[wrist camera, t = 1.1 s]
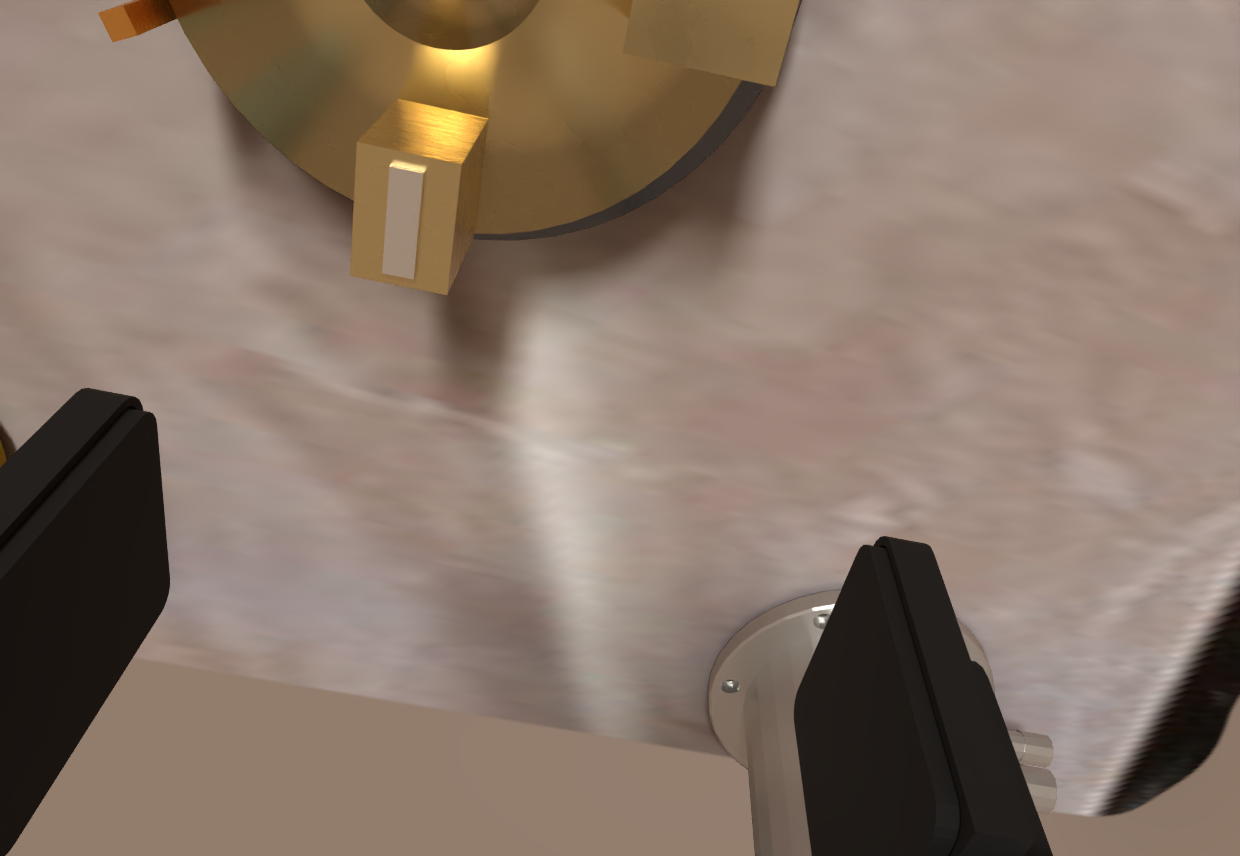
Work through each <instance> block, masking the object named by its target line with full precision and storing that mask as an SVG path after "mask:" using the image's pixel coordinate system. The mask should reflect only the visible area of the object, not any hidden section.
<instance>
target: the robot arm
mask: <svg viewBox="0 0 1240 856" xmlns="http://www.w3.org/2000/svg"><path fill="white" fill-rule="evenodd" d="M169 588H170V574H169V562H168V551H167V539H166V527H165V515H164V503H163V491H162V479H161V467H160V455H159V443H158V431H157V422H156V418H155V416H154V414H152V413H151V412H146V411H143V407H142V404H141V402H140V400H139V399H138V398H136V397H133V396H128V395H122V394H117V393H112V392H106V391H101V390H96V389H90V388H84V389H81V390H80V391H78V392H77V393H75V394H74V395H73V396H72V397H71V398H70V399H69V400H68V401H67V402H66V403H65V404H64V405H63V406H62V407H61V408H60V409H59V410H58V411H57V412H56V413H55V414H54V415H53V416H52V417H51V418H50V419H49V420H48V421H47V422H46V423H45V424H44V425H43V426H42V427H41V428H40V429H39V430H38V431H37V432H36V433H35V434H34V435H33V436H32V437H31V438H30V439H29V440H28V441H27V442H25V443H24V444H23V445H22V446H21V447H20V448H19V449H18V450H17V451H16V452H15V453H14V454H13V455H12V456H11V457H10V458H9V459H8V460H7V461H6V462H5V463H4V464H3V465H2V466H1V467H0V856H5V855H6V854H7V853H8V852H9V851H10V850H11V848H12V847H13V845H14V844H15V842H16V841H17V839H18V838H19V836H20V834H21V833H22V831H23V830H24V828H25V827H26V825H27V823H28V822H29V820H30V819H31V817H32V815H33V814H34V812H35V811H36V809H37V808H38V806H39V805H40V803H41V801H42V800H43V798H44V797H45V795H46V793H47V792H48V790H49V789H50V787H51V786H52V784H53V783H54V781H55V779H56V778H57V776H58V775H59V773H60V771H61V770H62V768H63V767H64V765H65V764H66V762H67V760H68V759H69V757H70V755H71V754H72V753H73V751H74V749H75V748H76V746H77V745H78V743H79V741H80V740H81V738H82V737H83V735H84V734H85V732H86V730H87V729H88V727H89V726H90V724H91V722H92V721H93V719H94V718H95V716H96V715H97V713H98V712H99V710H100V708H101V707H102V705H103V704H104V702H105V700H106V699H107V697H108V696H109V694H110V693H111V691H112V690H113V688H114V686H115V685H116V683H117V682H118V680H119V678H120V677H121V675H122V674H123V672H124V671H125V669H126V667H127V666H128V664H129V663H130V661H131V660H132V658H133V656H134V655H135V653H136V652H137V650H138V649H139V647H140V645H141V644H142V642H143V641H144V639H145V637H146V636H147V634H148V633H149V631H150V630H151V628H152V626H153V625H154V623H155V622H156V620H157V619H158V617H159V615H160V614H161V612H162V610H163V608H164V606H165V603H166V601H167V597H168V594H169ZM994 692H995V687H994V681H993V676H992V671H991V668H990V665H989V663H988V660H987V657H986V655H985V652H984V650H983V647H982V646H981V644H980V643H979V641H978V640H977V639H976V637H975V636H974V634H973V633H972V631H971V630H970V629H969V628H968V627H966V626H965V625H964V624H963V623H962V622H961V621H960V620H959V619H958V618H956V616H955V613H954V610H953V607H952V604H951V601H950V599H949V596H948V593H947V590H946V587H945V584H944V581H943V579H942V576H941V573H940V570H939V567H938V564H937V561H936V558H935V556H934V553H933V551H932V549H931V547H930V546H929V545H927V544H924V543H919V542H913V541H908V540H903V539H897V538H892V537H887V536H883V537H880V538H879V539H878V540H877V541H876V543H875V544H874V546H870V545H863V546H862V547H861V548H860V549H859V551H858V553H857V555H856V557H855V560H854V562H853V564H852V566H851V569H850V571H849V573H848V576H847V578H846V580H845V582H844V585H843V587H842V589H841V590H836V591H827V592H821V593H817V594H813V595H809V596H805V597H801V598H797V599H794V600H792V601H789V602H787V603H784V604H782V605H779V606H777V607H775V608H772V609H770V610H769V611H767V612H765V613H764V614H762V615H760V616H759V617H757V618H755V619H754V620H752V621H750V622H749V623H748V624H747V625H746V626H744V627H743V628H742V629H741V630H740V631H739V632H738V633H736V634H735V635H734V636H733V637H732V638H731V639H730V641H729V642H728V643H727V645H726V646H725V647H724V649H723V650H722V651H721V652H720V654H719V655H718V658H717V660H716V662H715V664H714V667H713V669H712V671H711V675H710V681H709V688H708V699H709V715H710V719H711V723H712V726H713V730H714V732H715V734H716V736H717V737H718V739H719V741H720V743H721V744H722V746H723V747H724V749H725V750H726V751H727V752H728V753H729V754H730V755H731V756H732V757H733V758H734V759H735V760H736V761H737V762H738V763H740V764H741V765H742V766H744V767H745V768H746V769H748V773H749V786H750V798H751V811H752V824H753V837H754V850H755V856H1053V854H1052V852H1051V849H1050V846H1049V843H1048V841H1047V838H1046V835H1045V833H1044V830H1043V827H1042V824H1041V821H1040V819H1039V816H1038V813H1043V814H1049V813H1050V812H1051V811H1052V810H1053V809H1054V806H1055V803H1056V800H1057V785H1056V780H1055V777H1054V776H1053V774H1052V773H1051V771H1049V770H1047V769H1043V768H1037V767H1031V766H1025V765H1020V763H1021V764H1027V765H1033V766H1039V767H1044V768H1046V767H1047V766H1049V765H1050V763H1051V760H1052V758H1053V745H1052V741H1051V739H1050V738H1049V737H1048V736H1046V735H1041V734H1035V733H1030V732H1024V731H1018V730H1016V731H1010V730H1007V728H1006V725H1005V722H1004V719H1003V717H1002V714H1001V711H1000V708H999V706H998V703H997V700H996V697H995V694H994Z"/></svg>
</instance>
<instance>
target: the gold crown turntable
mask: <svg viewBox="0 0 1240 856" xmlns="http://www.w3.org/2000/svg"><path fill="white" fill-rule="evenodd" d="M169 1H170V3H171V5H172V8H173V10H174V12H175V14H176V16H177V18H178V20H179V22H180V24H181V26H182V29H183V31H184V33H185V35H186V36H187V38H188V40H189V41H190V43H191V44H192V46H193V48H194V49H195V51H196V53H197V54H198V56H199V58H200V59H201V61H202V62H203V64H204V66H205V67H206V69H207V71H208V72H209V74H210V75H211V76H212V77H213V79H214V80H215V81H216V83H217V84H218V85H219V87H220V88H221V89H222V91H223V92H224V93H225V95H226V96H227V97H228V98H229V100H230V101H231V102H232V104H233V105H234V106H235V107H236V109H237V110H238V111H239V112H240V113H241V114H242V115H243V116H244V117H245V118H246V119H247V120H248V121H249V122H250V123H251V124H252V126H253V127H254V128H255V129H256V130H257V131H258V132H259V133H260V134H261V135H262V136H263V137H264V138H265V139H266V140H267V141H268V142H270V143H271V144H272V145H273V146H274V147H275V148H277V149H278V150H279V151H280V152H281V153H282V154H284V155H285V156H286V157H287V158H288V159H289V160H291V161H292V162H293V163H294V164H295V165H297V166H298V167H300V168H301V169H303V170H304V171H305V172H307V173H308V174H310V175H311V176H313V177H314V178H316V179H317V180H319V181H320V182H321V183H323V184H324V185H326V186H327V187H329V188H331V189H333V190H335V191H337V192H338V193H340V194H342V195H344V196H346V197H348V198H350V199H351V200H353V201H354V208H353V228H352V248H351V268H350V276H354V277H358V278H363V279H368V280H373V281H378V282H383V283H388V284H393V285H398V286H403V287H408V288H413V289H418V290H423V291H428V292H433V293H438V294H443V295H447V294H448V292H449V290H450V288H451V286H452V283H453V281H454V279H455V277H456V275H457V273H458V270H459V268H460V266H461V264H462V262H463V260H464V257H465V255H466V253H467V251H468V249H469V247H470V244H471V242H472V240H473V238H474V233H477V234H508V233H517V232H526V231H536V230H541V229H545V228H549V227H554V226H558V225H562V224H566V223H570V222H574V221H576V220H579V219H582V218H584V217H587V216H589V215H592V214H595V213H597V212H600V211H603V210H605V209H607V208H609V207H611V206H613V205H615V204H617V203H618V202H620V201H622V200H624V199H626V198H628V197H629V196H631V195H633V194H635V193H637V192H638V191H640V190H641V189H643V188H644V187H645V186H647V185H648V184H650V183H651V182H652V181H654V180H655V179H656V178H658V177H659V176H661V175H662V174H663V173H665V172H666V171H668V170H669V169H670V168H671V167H672V166H673V165H674V164H675V163H676V162H677V161H678V160H679V159H680V158H681V157H683V156H684V155H685V154H686V153H687V152H688V151H689V150H690V149H691V148H692V147H693V146H694V145H695V144H696V143H697V142H698V141H699V139H700V138H701V137H702V136H703V135H704V133H705V132H706V131H707V130H708V129H709V127H710V126H711V125H712V124H713V123H714V121H715V120H716V119H717V118H718V116H719V115H720V114H721V113H722V111H723V109H724V108H725V106H726V105H727V103H728V101H729V100H730V98H731V97H732V95H733V94H734V92H735V90H736V89H737V87H738V86H739V84H740V82H741V81H742V80H745V81H750V82H754V83H759V84H763V85H768V86H772V87H775V86H776V82H777V79H778V75H779V71H780V68H781V64H782V61H783V57H784V54H785V50H786V47H787V43H788V40H789V36H790V32H791V29H792V25H793V22H794V18H795V15H796V11H797V8H798V4H799V1H800V0H169Z"/></svg>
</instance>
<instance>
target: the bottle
mask: <svg viewBox="0 0 1240 856" xmlns="http://www.w3.org/2000/svg"><path fill="white" fill-rule="evenodd" d="M6 461H7V460H6V455H5V452H4V448H3V445H2V442H1V439H0V467H1V466H2V465H3V464H4V463H5V462H6Z"/></svg>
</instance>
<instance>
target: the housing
mask: <svg viewBox="0 0 1240 856" xmlns="http://www.w3.org/2000/svg"><path fill="white" fill-rule="evenodd" d="M801 2H802V0H800V1H799V4H798V8H797V11H796V15H795V18H794V22H795V19H796V16H797V13H798V10H799V7H800V4H801ZM98 14H99V16H100V18H101V20H102V22H103V24H104V26H105V28H106V30H107V32H108V34H109V36H110V38H111V40H112V42H115V41H119V40H122V39H126V38H130V37H134V36H137V35H140V34H142V33H144V32H147V31H149V30H151V29H154V28H156V27H158V26H161V25H163V24H165V23H168V22H170V21H172V20H175V19H177V16H176V14H175V12H174V10H173V8H172V5H171V3H170V1H169V0H133V1H130V2H127V3H125V4H122V5H119V6H116V7H114V8H111V9H108V10H105V11H102V12H100V13H98ZM794 22H793V25H794ZM793 25H792V27H793ZM791 30H792V29H791ZM790 33H791V32H790ZM764 86H765V85H763V84H759V83H754V82H750V81H745V80H742V81H741V82H740V84H739V86H738V87H737V89H736V90H735V92H734V94H733V95H732V97H731V98H730V100H729V101H728V103H727V105H726V106H725V108H724V109H723V111H722V113H721V114H720V115H719V116H718V118H717V119H716V120H715V121H714V123H713V124H712V125H711V126H710V127H709V129H708V130H707V131H706V132H705V133H704V135H703V136H702V137H701V138H700V139H699V141H698V142H697V143H696V144H695V145H694V146H693V147H692V148H691V149H690V150H689V151H688V152H687V153H686V154H685V155H684V156H683V157H681V158H680V159H679V160H678V161H677V162H676V163H675V164H674V165H673V166H672V167H671V168H670V169H669V170H668V171H666V172H665V173H663V174H662V175H661V176H659V177H658V178H656V179H655V180H654V181H652V182H651V183H650V184H648V185H647V186H645V187H644V188H643V189H641V190H640V191H638V192H637V193H635V194H633V195H631V196H629V197H628V198H626V199H624V200H622V201H620V202H618V203H617V204H615V205H613V206H611V207H609V208H607V209H605V210H603V211H600V212H597V213H595V214H592V215H589V216H587V217H584V218H582V219H579V220H576V221H574V222H570V223H566V224H562V225H558V226H554V227H549V228H545V229H541V230H536V231H526V232H517V233H508V234H477V233H474V238H473V239H478V240H525V239H534V238H543V237H553V236H557V235H561V234H566V233H570V232H574V231H578V230H582V229H587V228H590V227H593V226H596V225H598V224H601V223H603V222H606V221H609V220H611V219H614V218H617V217H619V216H622V215H624V214H626V213H628V212H630V211H632V210H634V209H636V208H638V207H639V206H641V205H643V204H645V203H647V202H649V201H651V200H653V199H654V198H656V197H658V196H659V195H661V194H662V193H664V192H665V191H666V190H668V189H669V188H671V187H672V186H673V185H675V184H676V183H678V182H679V181H680V180H682V179H683V178H685V177H686V176H687V175H689V174H690V173H691V172H692V171H693V170H694V169H695V168H697V167H698V166H699V165H700V164H701V163H702V162H703V161H704V160H705V159H706V158H707V157H708V156H709V155H711V154H712V153H713V152H714V151H715V150H716V149H717V148H718V147H719V146H720V145H721V144H722V142H723V141H724V140H725V139H726V138H727V137H728V135H729V134H730V133H731V132H732V131H733V129H734V128H735V127H736V126H737V125H738V123H739V122H740V121H741V120H742V119H743V117H744V116H745V115H746V114H747V112H748V110H749V109H750V107H751V106H752V104H753V103H754V101H755V100H756V98H757V97H758V95H759V93H760V92H761V90H762V89H763V87H764ZM299 168H300V167H299ZM302 170H303V169H302ZM312 177H313V176H312ZM315 179H316V178H315ZM318 181H319V180H318ZM328 188H329V187H328ZM330 189H331V188H330ZM331 190H333V189H331ZM333 191H335V190H333ZM335 192H336V193H338V192H337V191H335ZM338 194H340V193H338ZM340 195H342V194H340ZM342 196H344V195H342ZM344 197H346V196H344ZM346 198H348V197H346ZM348 199H349V200H351V199H350V198H348ZM351 201H353V200H351ZM353 202H354V201H353Z"/></svg>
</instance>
